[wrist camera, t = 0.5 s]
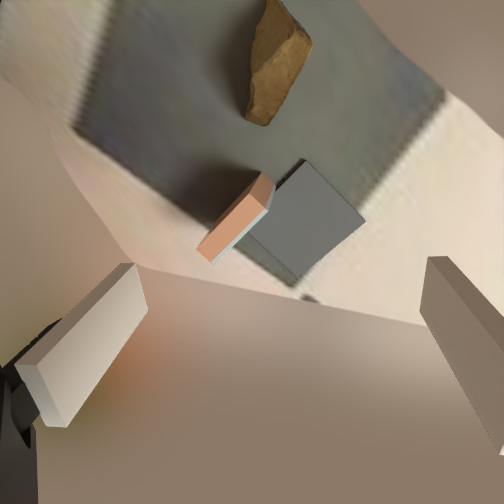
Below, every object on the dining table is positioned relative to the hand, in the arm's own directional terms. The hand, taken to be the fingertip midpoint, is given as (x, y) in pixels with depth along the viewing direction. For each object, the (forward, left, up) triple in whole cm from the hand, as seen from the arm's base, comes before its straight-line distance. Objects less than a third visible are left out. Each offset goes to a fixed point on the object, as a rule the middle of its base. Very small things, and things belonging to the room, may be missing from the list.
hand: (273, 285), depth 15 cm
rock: (-10, +6, -26) cm, 28 cm away
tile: (-2, -6, -26) cm, 26 cm away
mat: (+5, -3, -26) cm, 26 cm away
